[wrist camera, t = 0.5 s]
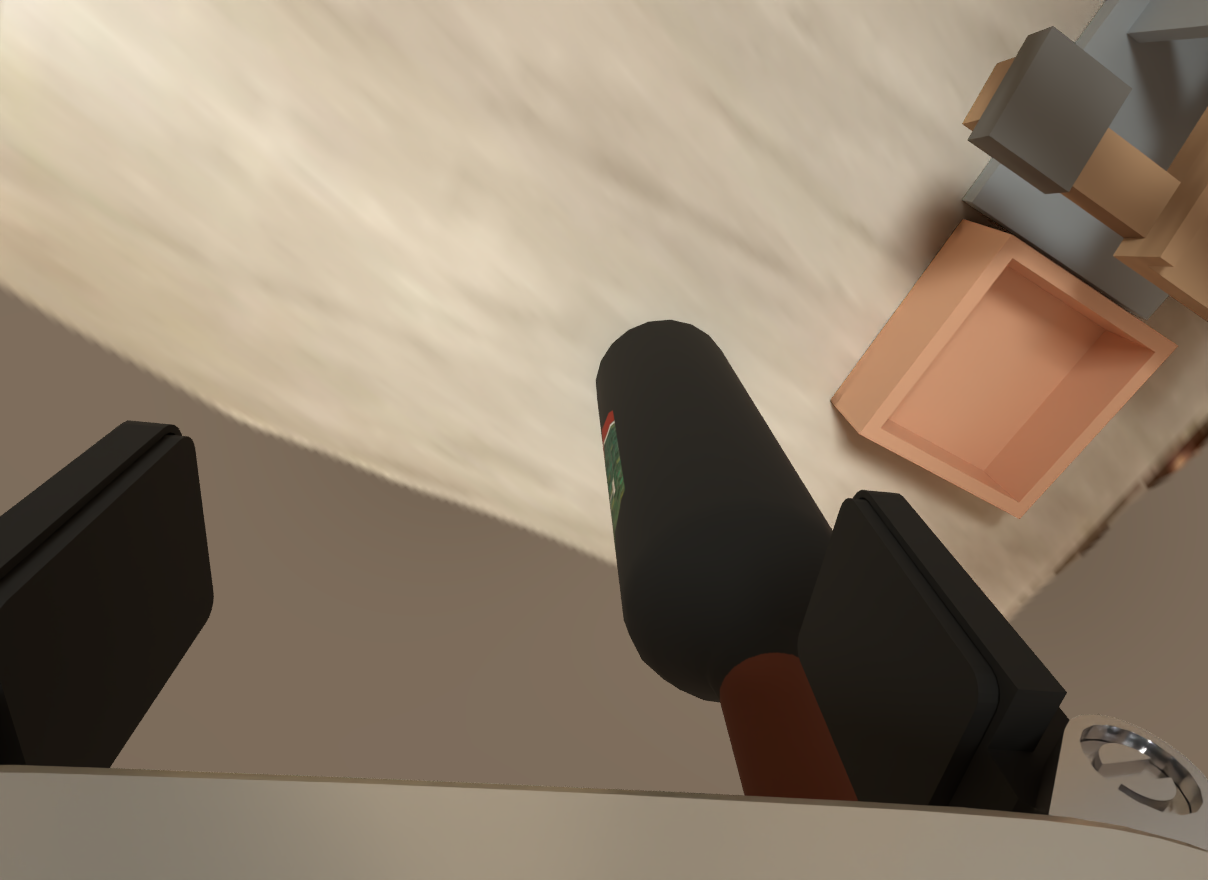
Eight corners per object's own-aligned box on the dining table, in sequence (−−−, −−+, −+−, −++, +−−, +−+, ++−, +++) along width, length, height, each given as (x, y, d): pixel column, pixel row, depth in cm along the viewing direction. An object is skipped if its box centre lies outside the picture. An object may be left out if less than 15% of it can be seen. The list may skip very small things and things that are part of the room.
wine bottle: (750, 403, 41) (1108, 992, 14) (637, 465, 43) (770, 1109, 16) (689, 293, 38) (999, 781, 11) (570, 364, 40) (591, 949, 13)
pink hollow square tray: (962, 218, 37) (1011, 234, 33) (1116, 320, 40) (1178, 345, 36) (830, 400, 41) (859, 434, 37) (977, 479, 44) (1019, 518, 40)
